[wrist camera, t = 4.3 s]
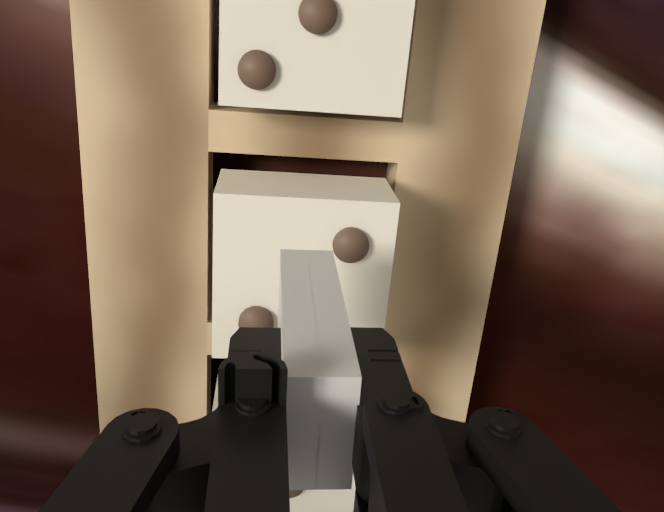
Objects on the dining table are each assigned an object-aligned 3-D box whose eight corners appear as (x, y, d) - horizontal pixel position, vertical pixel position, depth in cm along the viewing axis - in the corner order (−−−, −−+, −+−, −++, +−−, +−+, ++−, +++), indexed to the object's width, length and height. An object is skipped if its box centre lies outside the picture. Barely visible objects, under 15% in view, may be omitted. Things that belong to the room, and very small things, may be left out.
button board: (115, 474, 30) (104, 505, 28) (76, -157, 21) (57, -172, 19) (439, 476, 32) (449, 505, 30) (544, -106, 22) (568, -115, 20)
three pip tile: (225, 92, 23) (217, 106, 20) (228, -93, 21) (220, -109, 18) (386, 103, 24) (402, 118, 21) (405, -75, 21) (427, -88, 18)
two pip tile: (219, 316, 25) (211, 361, 22) (221, 168, 23) (212, 195, 20) (368, 321, 25) (381, 365, 22) (384, 177, 23) (401, 205, 20)
